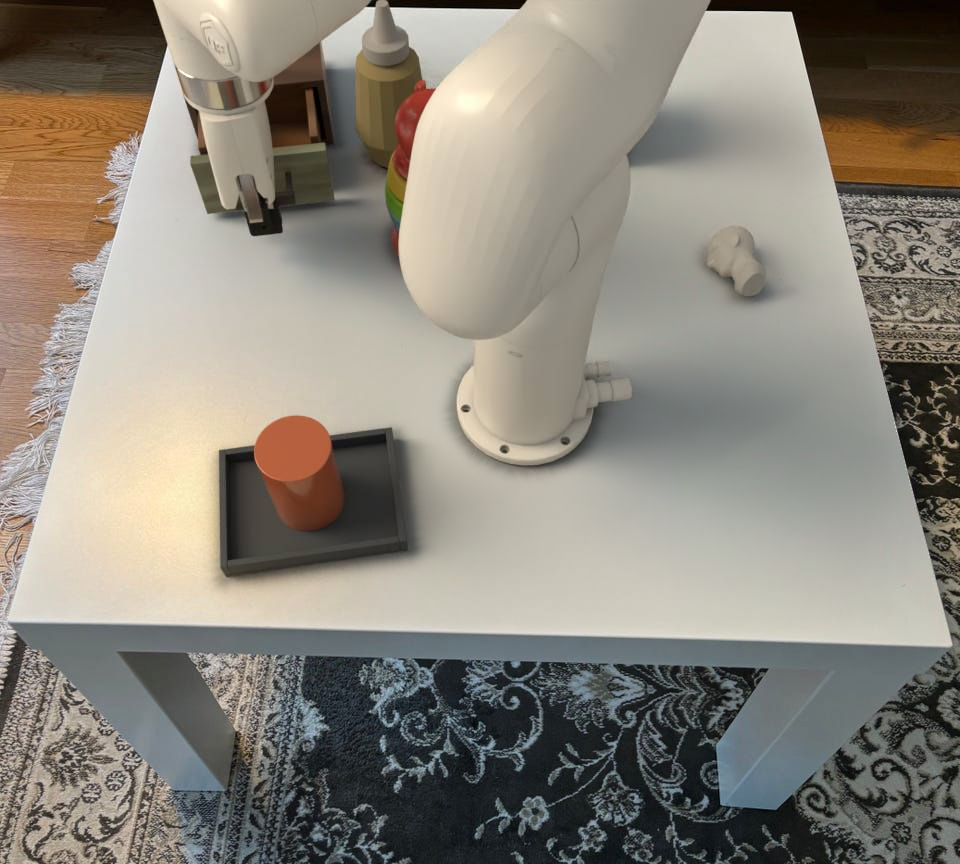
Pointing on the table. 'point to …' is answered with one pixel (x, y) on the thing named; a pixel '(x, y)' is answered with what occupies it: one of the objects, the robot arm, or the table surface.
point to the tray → (353, 534)
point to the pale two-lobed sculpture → (736, 259)
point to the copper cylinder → (300, 472)
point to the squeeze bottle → (383, 83)
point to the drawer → (281, 154)
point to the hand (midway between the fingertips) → (267, 228)
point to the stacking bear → (403, 154)
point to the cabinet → (297, 76)
